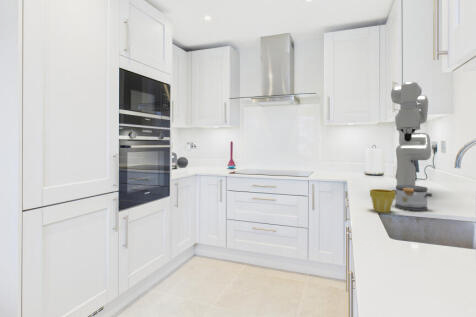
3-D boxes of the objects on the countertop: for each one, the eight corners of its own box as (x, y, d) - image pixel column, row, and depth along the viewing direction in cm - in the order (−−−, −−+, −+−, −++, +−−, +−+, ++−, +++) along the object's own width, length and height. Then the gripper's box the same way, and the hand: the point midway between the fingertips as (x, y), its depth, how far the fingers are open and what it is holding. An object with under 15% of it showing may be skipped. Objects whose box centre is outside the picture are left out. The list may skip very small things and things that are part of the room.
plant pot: (388, 208, 130) (388, 188, 130) (399, 214, 120) (399, 192, 120) (366, 208, 131) (366, 188, 131) (374, 213, 121) (375, 192, 121)
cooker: (394, 203, 143) (395, 186, 142) (433, 208, 132) (433, 189, 131) (388, 207, 132) (388, 189, 132) (429, 213, 121) (430, 193, 121)
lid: (399, 186, 141) (399, 184, 141) (429, 189, 132) (429, 186, 132) (392, 189, 129) (392, 187, 129) (424, 193, 121) (424, 190, 121)
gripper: (427, 105, 139) (425, 141, 140) (394, 108, 149) (393, 141, 150) (424, 104, 133) (423, 141, 134) (391, 107, 143) (390, 141, 144)
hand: (407, 141), depth 142 cm, fingers closed
